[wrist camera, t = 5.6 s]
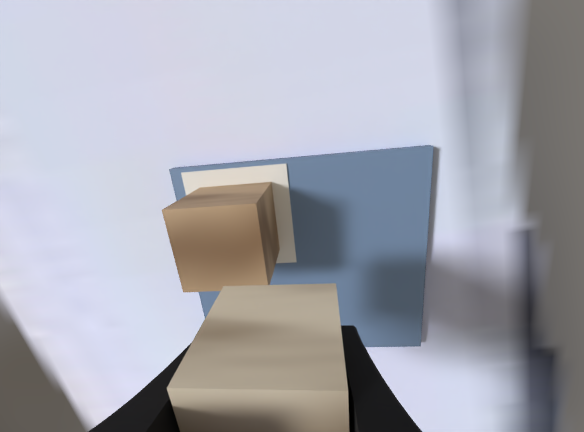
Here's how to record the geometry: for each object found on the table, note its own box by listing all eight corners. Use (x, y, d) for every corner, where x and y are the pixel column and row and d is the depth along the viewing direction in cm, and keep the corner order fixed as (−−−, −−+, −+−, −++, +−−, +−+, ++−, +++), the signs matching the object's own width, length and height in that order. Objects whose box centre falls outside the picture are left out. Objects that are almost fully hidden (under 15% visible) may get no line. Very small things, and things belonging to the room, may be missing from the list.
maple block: (339, 372, 12) (351, 506, 8) (239, 371, 13) (200, 497, 8) (336, 283, 11) (348, 391, 7) (223, 286, 11) (166, 388, 7)
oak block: (279, 249, 18) (268, 289, 14) (213, 252, 19) (183, 292, 14) (271, 181, 17) (256, 203, 12) (199, 187, 17) (161, 210, 13)
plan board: (417, 340, 20) (420, 347, 20) (214, 343, 22) (211, 349, 22) (429, 145, 16) (434, 146, 15) (173, 167, 18) (168, 169, 17)
